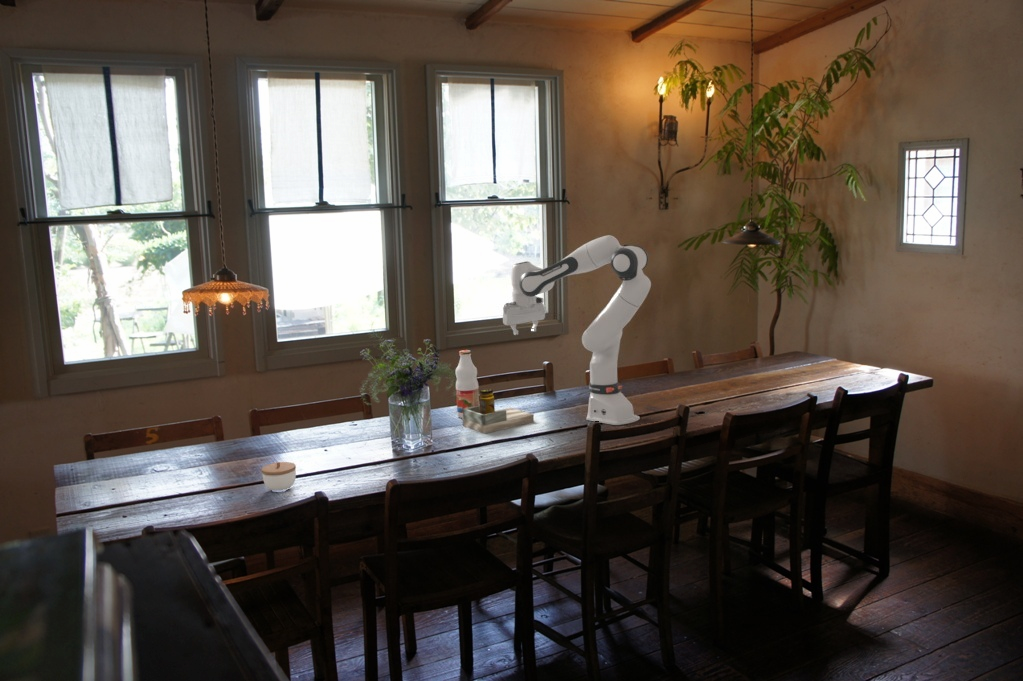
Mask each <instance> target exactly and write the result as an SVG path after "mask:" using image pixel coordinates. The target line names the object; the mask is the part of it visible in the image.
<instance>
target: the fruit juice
mask: <svg viewBox="0 0 1023 681" xmlns="http://www.w3.org/2000/svg"><path fill="white" fill-rule="evenodd" d="M458 354H459V356H460V357H459V361H458V363H457V367H455V373H454V374H455V376H456V381H455V393H456V412H457V417H458V418H460V419H462V418H463V409H466V408H471V407H475V406H479V397H480V390H479V382H478V379H477V376H478V369H477V367H476V366H475V365H474V363H473V361H472V357H471V355H472V351H471V350H469V349H463V350H459V351H458Z"/></svg>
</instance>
